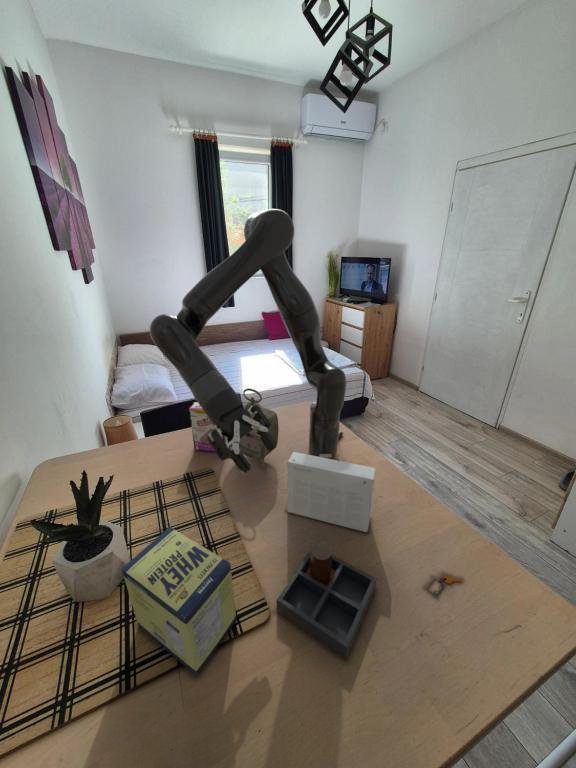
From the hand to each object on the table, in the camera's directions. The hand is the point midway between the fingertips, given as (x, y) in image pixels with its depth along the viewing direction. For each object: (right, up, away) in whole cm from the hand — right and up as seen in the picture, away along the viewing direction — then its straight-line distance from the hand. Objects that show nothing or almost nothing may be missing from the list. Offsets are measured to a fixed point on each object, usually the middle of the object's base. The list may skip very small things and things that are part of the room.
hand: (261, 459), depth 67 cm
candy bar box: (-21, -7, +45) cm, 50 cm away
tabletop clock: (-5, -9, +40) cm, 41 cm away
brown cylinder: (+12, -25, +1) cm, 28 cm away
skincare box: (+16, -19, +18) cm, 30 cm away
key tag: (+38, -27, 0) cm, 46 cm away
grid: (+13, -27, -3) cm, 31 cm away
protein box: (-13, -29, -6) cm, 33 cm away
